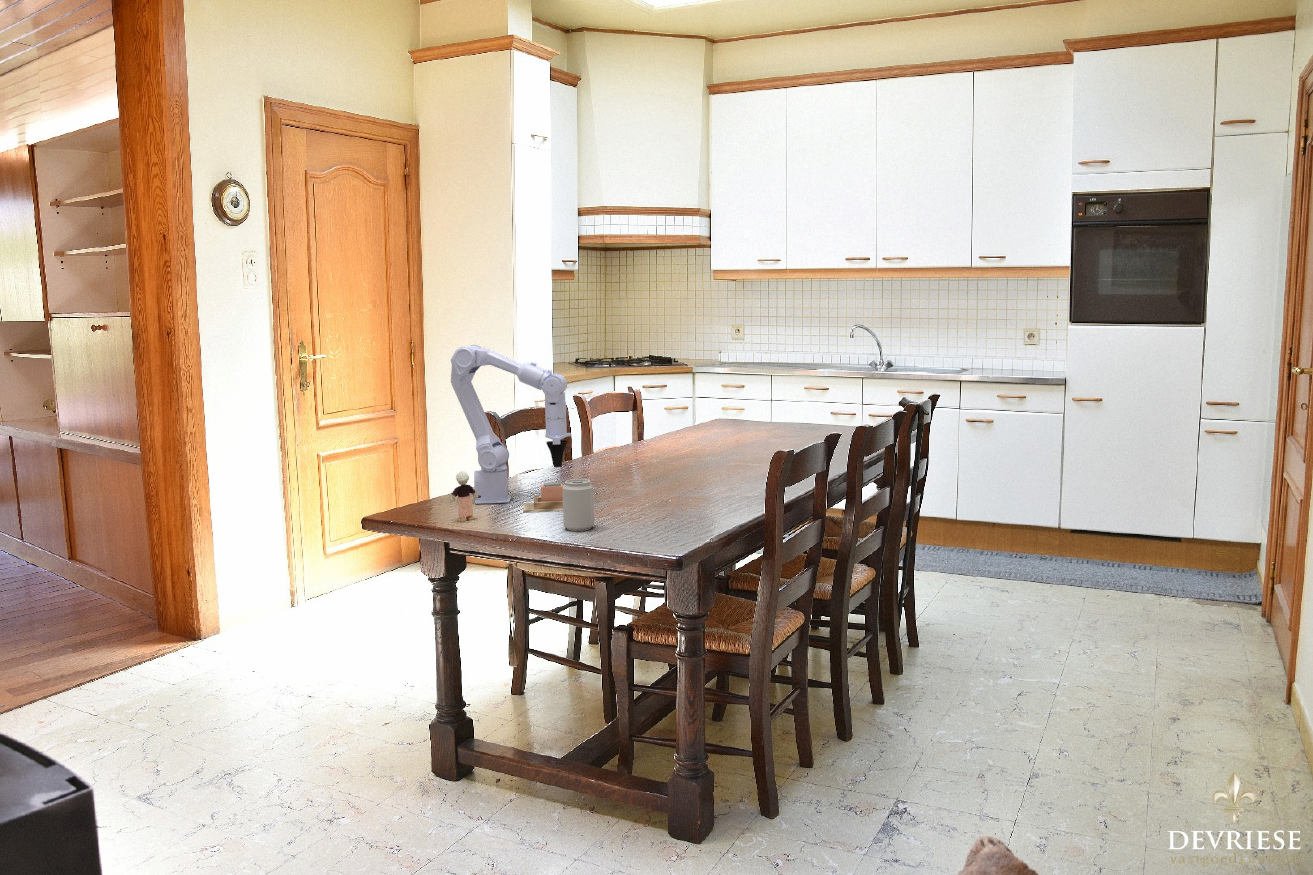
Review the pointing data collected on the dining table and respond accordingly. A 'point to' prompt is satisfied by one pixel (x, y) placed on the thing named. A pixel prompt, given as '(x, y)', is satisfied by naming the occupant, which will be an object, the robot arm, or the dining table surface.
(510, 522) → the dining table surface
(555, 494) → the salmon block
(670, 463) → the dining table surface
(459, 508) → the grandmother figurine
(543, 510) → the frame
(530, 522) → the dining table surface
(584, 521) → the can
